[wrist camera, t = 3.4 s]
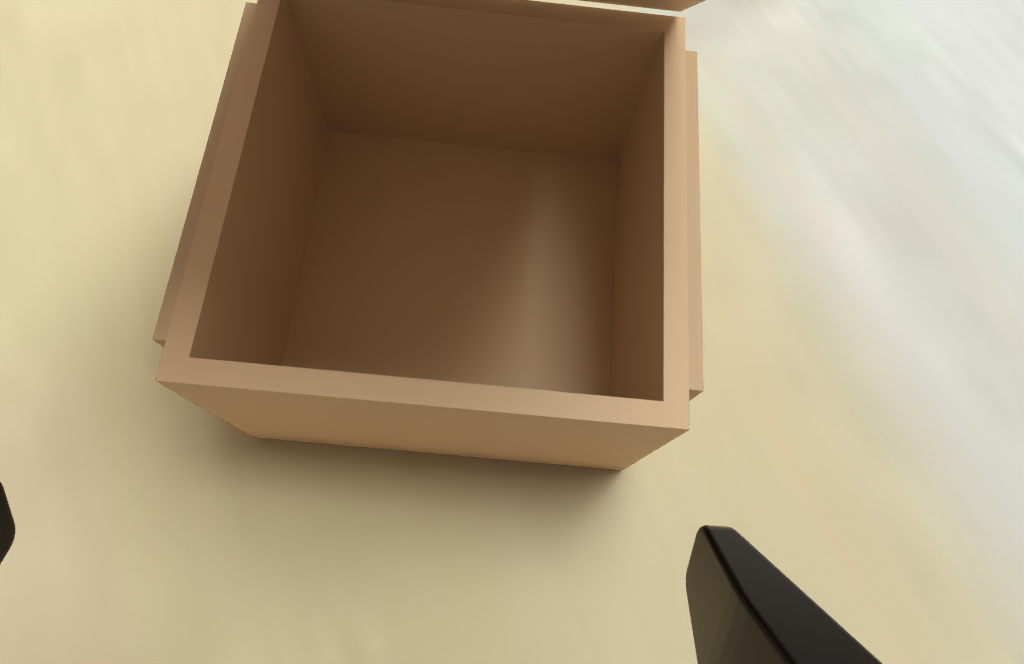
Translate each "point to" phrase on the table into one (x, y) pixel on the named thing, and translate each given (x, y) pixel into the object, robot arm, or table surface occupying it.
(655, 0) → the carton flap
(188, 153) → the table surface
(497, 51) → the carton
